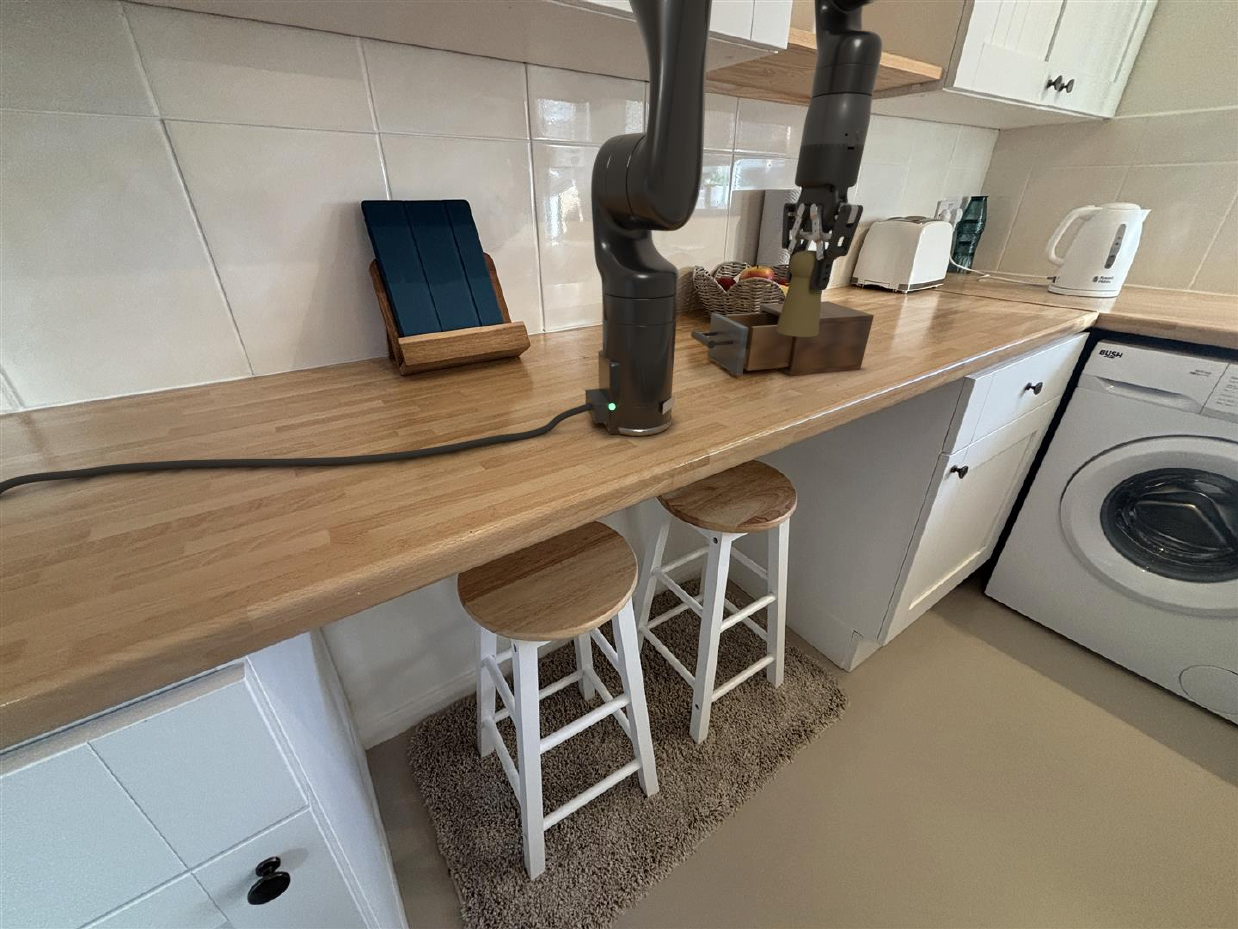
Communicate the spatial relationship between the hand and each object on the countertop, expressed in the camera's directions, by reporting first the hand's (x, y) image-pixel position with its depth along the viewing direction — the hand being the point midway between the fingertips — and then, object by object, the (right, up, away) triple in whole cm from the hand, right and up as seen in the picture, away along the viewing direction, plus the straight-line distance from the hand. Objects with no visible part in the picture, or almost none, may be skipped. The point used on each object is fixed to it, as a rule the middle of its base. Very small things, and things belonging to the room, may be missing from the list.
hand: (805, 285), depth 69 cm
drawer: (-4, -7, +19) cm, 21 cm away
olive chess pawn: (0, -6, +3) cm, 7 cm away
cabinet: (+9, -6, +23) cm, 25 cm away
